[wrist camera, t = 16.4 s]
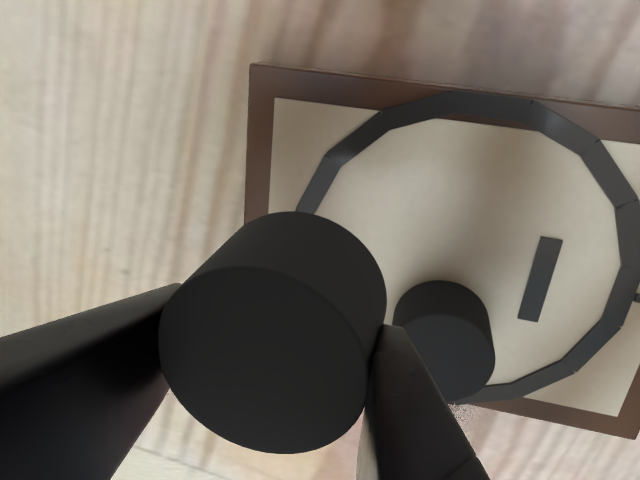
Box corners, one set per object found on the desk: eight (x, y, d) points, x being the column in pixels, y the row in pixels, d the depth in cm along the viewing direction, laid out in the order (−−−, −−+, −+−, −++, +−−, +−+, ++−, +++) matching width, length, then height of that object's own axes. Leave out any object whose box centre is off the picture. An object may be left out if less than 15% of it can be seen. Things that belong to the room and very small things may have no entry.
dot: (387, 349, 20) (380, 390, 18) (400, 271, 19) (395, 304, 16) (477, 368, 19) (482, 412, 17) (498, 288, 18) (507, 325, 16)
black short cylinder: (217, 347, 11) (159, 428, 9) (218, 196, 10) (149, 248, 7) (374, 381, 11) (355, 477, 8) (399, 226, 9) (384, 292, 7)
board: (246, 342, 23) (236, 358, 22) (258, 61, 18) (246, 63, 17) (626, 422, 20) (638, 446, 19) (758, 120, 15) (783, 127, 14)
